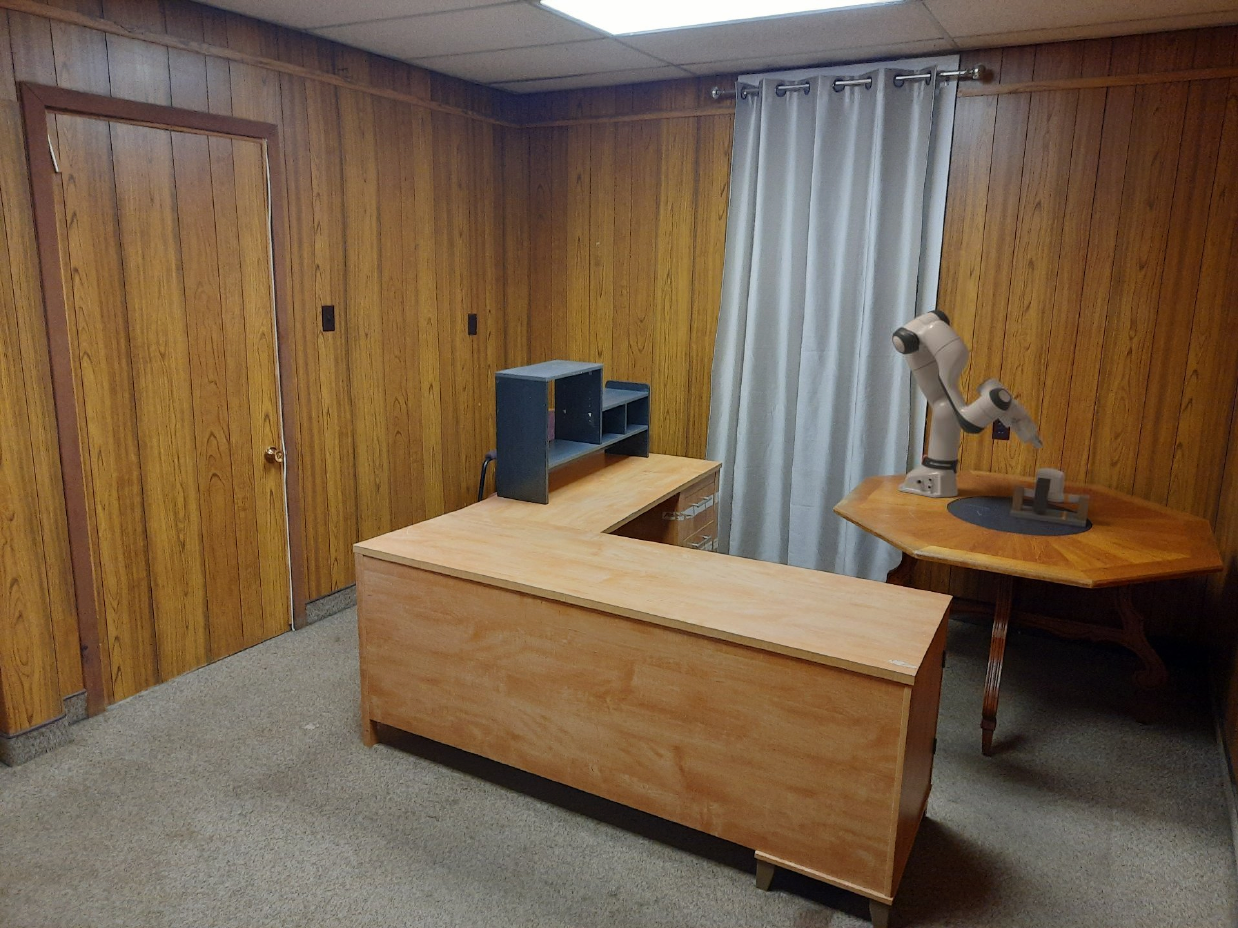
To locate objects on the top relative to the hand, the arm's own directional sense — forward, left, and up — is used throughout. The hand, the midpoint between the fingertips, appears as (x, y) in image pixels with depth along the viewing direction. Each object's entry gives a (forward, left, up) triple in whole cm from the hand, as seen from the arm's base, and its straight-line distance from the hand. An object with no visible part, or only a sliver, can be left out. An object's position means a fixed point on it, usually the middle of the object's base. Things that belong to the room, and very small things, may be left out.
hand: (1040, 446), depth 305 cm
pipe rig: (+5, 0, -25) cm, 26 cm away
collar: (+2, 0, -22) cm, 23 cm away
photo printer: (+3, +26, -26) cm, 37 cm away
